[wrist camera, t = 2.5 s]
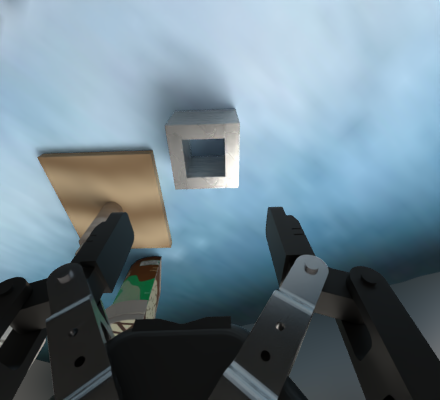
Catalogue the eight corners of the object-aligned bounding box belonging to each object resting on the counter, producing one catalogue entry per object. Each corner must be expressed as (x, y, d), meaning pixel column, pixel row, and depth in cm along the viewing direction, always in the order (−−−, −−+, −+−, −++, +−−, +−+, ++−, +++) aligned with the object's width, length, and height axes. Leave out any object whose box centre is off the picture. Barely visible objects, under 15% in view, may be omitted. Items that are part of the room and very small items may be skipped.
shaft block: (43, 153, 24) (-28, 196, 17) (152, 150, 24) (126, 192, 17) (89, 244, 32) (54, 299, 25) (172, 242, 32) (159, 296, 25)
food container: (119, 245, 32) (85, 312, 24) (161, 249, 33) (142, 317, 25) (125, 294, 39) (100, 359, 31) (160, 297, 40) (145, 362, 32)
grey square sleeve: (174, 110, 22) (164, 125, 18) (235, 108, 22) (239, 123, 18) (182, 166, 25) (175, 189, 21) (235, 164, 25) (238, 187, 21)
